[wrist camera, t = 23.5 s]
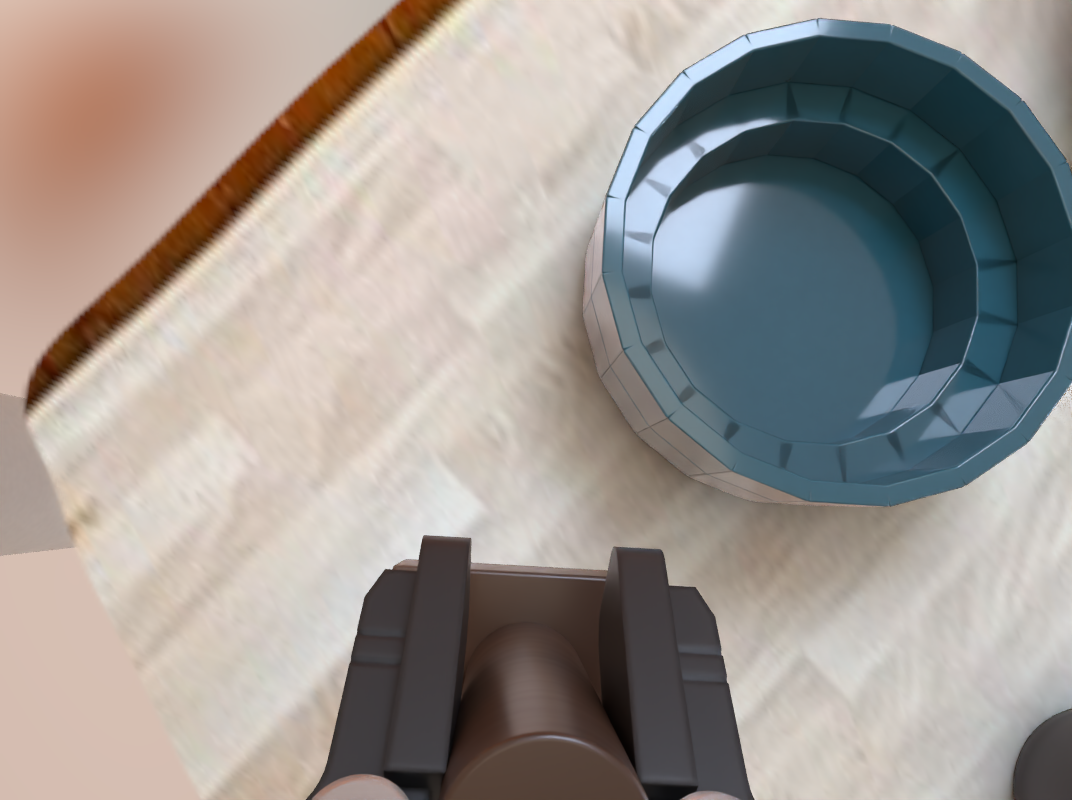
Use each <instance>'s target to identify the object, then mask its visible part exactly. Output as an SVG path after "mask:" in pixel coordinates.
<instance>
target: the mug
mask: <svg viewBox="0 0 1072 800" xmlns="http://www.w3.org/2000/svg"><path fill="white" fill-rule="evenodd" d="M1014 797H1015V800H1072V709H1069V710H1067V711H1064V712H1061V713H1059V714H1056V715H1054V716H1052V717H1051V718H1049V719H1048V720H1047V721H1045V722H1044V723H1042V724H1041V725H1040V726H1039V727H1038V728H1037V729H1036V730H1035V731H1034V732H1033V733H1032V735H1031V736H1030V737H1029V738H1028V740H1027V741H1026V743H1025V745H1024V747H1023V749H1022V751H1021V753H1020V755H1019V758H1018V762H1017V765H1016V769H1015V775H1014Z"/></svg>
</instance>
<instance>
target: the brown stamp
mask: <svg viewBox="0 0 1072 800" xmlns="http://www.w3.org/2000/svg"><path fill="white" fill-rule="evenodd" d="M418 561H419V560H412V559H406V560H403V561H402V562H400V563H398V564H396V565H395V566H394V567H393V569H392V570H408V571H417V567H418ZM607 572H608V571H605V570H588V569H570V568H553V567H535V566H517V565H500V564H482V563H471V568H470V598H469V617H468V631H467V642H466V653H465V663H464V674H463V684H462V695H461V703H460V708H459V712H458V717H457V722H456V727H455V732H454V736H453V741H452V746H451V751H450V756H449V760H448V765H447V770H446V773H445V775H444V778H443V782H442V786H441V790H440V795H439V800H649V799H648V797H647V794H646V792H645V790H644V788H643V786H642V784H641V782H640V780H639V778H638V776H637V774H636V772H635V770H634V768H633V766H632V764H631V762H630V760H629V758H628V756H627V754H626V752H625V750H624V748H623V746H622V744H621V742H620V740H619V738H618V736H617V734H616V732H615V729H614V727H613V725H612V723H611V721H610V719H609V717H608V715H607V713H606V711H605V709H604V707H603V705H602V697H601V680H600V663H599V617H600V609H601V603H602V598H603V593H604V588H605V583H606V577H607Z"/></svg>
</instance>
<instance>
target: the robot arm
mask: <svg viewBox="0 0 1072 800" xmlns="http://www.w3.org/2000/svg"><path fill="white" fill-rule="evenodd" d="M470 568H471V538H461V537H444V536H427V535H424V536H423V539H422V544H421V549H420V555H419V561H418V567H417V571H408V570H390V569H385V570H384V572H383V573H382V574H381V576H380V577H379V578H378V580H377V581H376V582H375V584H374V585H373V586H372V588H371V589H370V590H369V592H368V593H367V594H366V596H365V598H364V602H363V607H362V611H361V616H360V620H359V624H358V629H357V636H356V638H355V642H354V646H353V651H352V655H351V663H350V664H349V668H348V673H347V677H346V682H345V686H344V691H343V695H342V699H341V704H340V708H339V713H338V717H337V721H336V726H335V730H334V735H333V739H332V743H331V748H330V752H329V757H328V761H327V764H326V767H325V771H324V773H323V775H322V777H321V779H320V781H319V783H318V784H317V786H316V787H315V789H314V791H313V792H312V793H311V794H310V795H309V797H308V798H307V799H306V800H439V795H440V790H441V786H442V782H443V778H444V775H445V773H446V770H447V765H448V760H449V756H450V751H451V746H452V741H453V736H454V732H455V727H456V722H457V717H458V712H459V708H460V703H461V695H462V684H463V674H464V663H465V653H466V642H467V631H468V617H469V598H470ZM599 663H600V680H601V697H602V705H603V707H604V709H605V711H606V713H607V715H608V717H609V719H610V721H611V723H612V725H613V727H614V729H615V732H616V734H617V736H618V738H619V740H620V742H621V744H622V746H623V748H624V750H625V752H626V754H627V756H628V758H629V760H630V762H631V764H632V766H633V768H634V770H635V772H636V774H637V776H638V778H639V780H640V782H641V784H642V786H643V788H644V790H645V792H646V794H647V797H648V799H649V800H754V798H753V796H752V793H751V790H750V787H749V783H748V779H747V774H746V769H745V764H744V759H743V754H742V749H741V744H740V739H739V734H738V729H737V724H736V719H735V714H734V709H733V704H732V699H731V694H730V689H729V684H728V683H727V674H726V669H725V664H724V659H723V656H722V655H721V644H720V639H719V634H718V629H717V624H716V619H715V616H714V614H713V613H712V611H711V610H710V608H709V607H708V605H707V604H706V602H705V601H704V599H703V598H702V596H701V595H700V593H699V592H698V590H697V589H696V587H683V586H669V584H668V578H667V571H666V564H665V558H664V554H663V552H662V550H660V549H644V548H627V547H613V549H612V552H611V557H610V562H609V567H608V572H607V577H606V583H605V588H604V593H603V598H602V603H601V609H600V617H599Z"/></svg>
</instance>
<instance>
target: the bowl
mask: <svg viewBox="0 0 1072 800" xmlns="http://www.w3.org/2000/svg"><path fill="white" fill-rule="evenodd" d="M1021 100H1022V99H1021V98H1020V97H1019V96H1018V95H1016V94H1015V93H1014V92H1012V91H1011V90H1010V89H1009V88H1007V87H1006V86H1005V85H1003V84H1002V83H1001V82H1000V81H998V80H997V79H996V78H994V77H993V76H992V75H991V74H989V73H988V72H987V71H985V70H984V69H983V68H982V67H980V66H979V65H978V64H976V63H975V62H974V61H973V60H971V59H970V58H969V57H967V56H966V55H965V54H961V52H960V51H957V50H955V49H952V48H950V47H947V46H945V45H942V44H940V43H937V42H935V41H932V40H929V39H927V38H924V37H922V36H919V35H917V34H914V33H912V32H909V31H907V30H904V29H902V28H899V27H897V26H894V25H892V26H891V25H890V24H881V23H869V22H858V21H846V20H834V19H823V18H818V19H812V20H807V21H803V22H798V23H793V24H789V25H784V26H780V27H775V28H771V29H766V30H762V31H757V32H752V33H748V34H746V35H742V36H741V37H739V38H737V39H736V40H734V41H732V42H731V43H729V44H727V45H725V46H724V47H722V48H720V49H719V50H717V51H715V52H713V53H712V54H710V55H708V56H707V57H705V58H703V59H702V60H700V61H698V62H696V63H695V64H693V65H691V66H690V67H688V68H686V69H685V70H683V71H682V72H681V73H680V74H679V75H678V76H677V77H676V78H675V79H674V80H673V82H672V83H671V84H670V85H669V86H668V87H667V89H666V90H665V91H664V92H663V93H662V94H661V96H660V97H659V98H658V99H657V100H656V101H655V102H654V104H653V105H652V106H651V107H650V108H649V109H648V111H647V112H646V113H645V114H644V115H643V116H642V118H641V119H640V120H639V121H638V122H637V123H636V124H635V126H634V128H633V129H632V131H631V134H630V136H629V139H628V141H627V144H626V146H625V149H624V151H623V154H622V156H621V159H620V161H619V164H618V166H617V169H616V171H615V174H614V176H613V179H612V181H611V184H610V186H609V189H608V191H607V194H606V196H605V199H604V202H603V205H602V208H601V211H600V214H599V217H598V219H597V222H596V225H595V228H594V231H593V234H592V237H591V240H590V242H589V245H588V248H587V252H586V261H585V279H584V297H583V319H584V323H585V327H586V330H587V334H588V338H589V342H590V345H591V349H592V353H593V356H594V360H595V364H596V368H597V371H598V375H599V378H600V379H601V381H602V383H603V384H604V386H605V387H606V389H607V391H608V392H609V394H610V395H611V397H612V398H613V400H614V401H615V403H616V404H617V406H618V408H619V409H620V411H621V412H622V414H623V415H624V417H625V418H626V420H627V421H628V423H629V425H630V426H631V428H632V429H633V431H634V432H635V433H637V435H638V436H639V437H640V438H641V439H642V440H643V441H645V442H646V443H647V444H648V445H650V446H651V447H652V448H653V449H654V450H656V451H657V452H658V453H659V454H661V455H662V456H663V457H664V458H665V459H667V460H668V461H669V462H670V463H671V464H673V465H674V466H675V467H676V468H678V469H679V470H680V471H681V472H682V473H684V474H685V475H687V476H688V477H689V478H692V479H694V480H697V481H699V482H702V483H704V484H707V485H709V486H712V487H714V488H717V489H719V490H722V491H724V492H727V493H729V494H732V495H734V496H737V497H739V498H742V499H744V500H747V501H752V502H764V503H779V504H795V505H811V506H858V507H891V506H895V505H899V504H902V503H906V502H910V501H913V500H917V499H921V498H925V497H928V496H932V495H936V494H939V493H943V492H947V491H950V490H954V489H958V488H962V487H964V486H965V485H968V484H969V483H971V482H972V481H974V480H975V479H977V478H978V477H979V476H981V475H982V474H984V473H985V472H987V471H988V470H990V469H991V468H993V467H994V466H995V465H997V464H998V463H1000V462H1001V461H1003V460H1004V459H1006V458H1007V457H1009V456H1010V455H1012V454H1013V453H1014V452H1016V451H1017V450H1019V449H1020V448H1022V447H1023V446H1025V445H1026V444H1027V443H1028V442H1029V441H1030V440H1031V439H1032V437H1033V436H1034V435H1035V433H1036V432H1037V431H1038V429H1039V428H1040V426H1041V425H1042V424H1043V422H1044V421H1045V420H1046V418H1047V417H1048V415H1049V414H1050V413H1051V411H1052V410H1053V409H1054V407H1055V406H1056V404H1057V403H1058V402H1059V400H1060V399H1061V398H1062V396H1063V395H1064V393H1065V392H1066V391H1067V389H1068V388H1069V387H1070V385H1071V384H1072V172H1071V169H1070V167H1069V164H1068V163H1066V161H1067V160H1066V158H1065V157H1064V156H1063V154H1062V153H1061V152H1060V150H1059V149H1058V147H1057V146H1056V145H1055V143H1054V142H1053V141H1052V139H1051V138H1050V136H1049V135H1048V134H1047V132H1046V131H1045V129H1044V128H1043V127H1042V125H1041V124H1040V123H1039V121H1038V120H1037V118H1036V117H1035V116H1034V114H1033V113H1032V112H1031V110H1030V109H1029V107H1028V106H1027V105H1026V103H1025V102H1024V101H1021Z"/></svg>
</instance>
